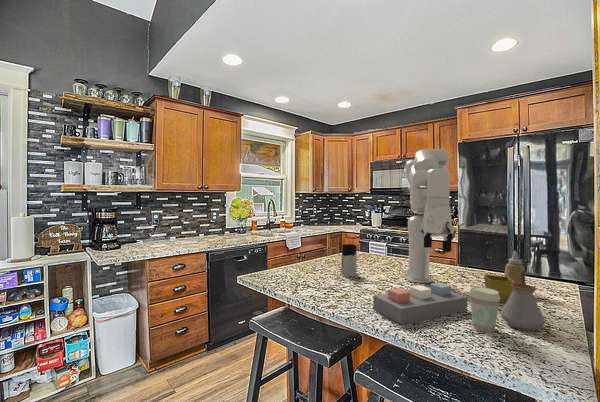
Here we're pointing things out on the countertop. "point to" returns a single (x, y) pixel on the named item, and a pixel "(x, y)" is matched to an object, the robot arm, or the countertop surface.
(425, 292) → the key white
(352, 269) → the glass holder
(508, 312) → the coffee pot
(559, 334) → the countertop surface
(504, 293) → the flower pot
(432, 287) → the key blue
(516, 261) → the squeeze bottle
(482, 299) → the coffee cup
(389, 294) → the key red
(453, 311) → the console
